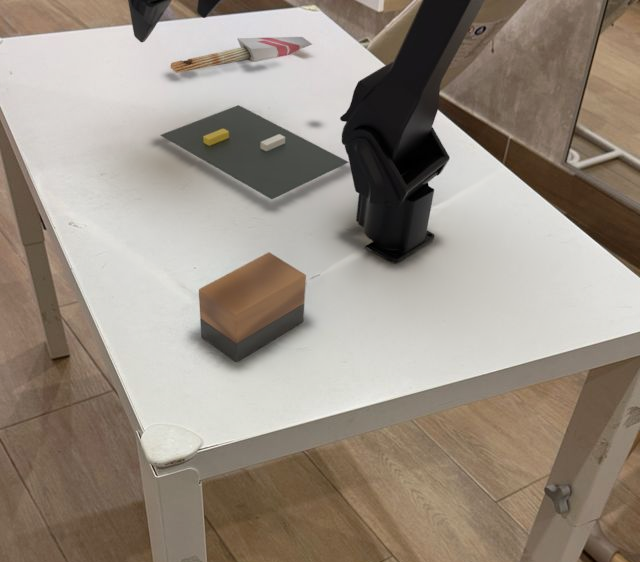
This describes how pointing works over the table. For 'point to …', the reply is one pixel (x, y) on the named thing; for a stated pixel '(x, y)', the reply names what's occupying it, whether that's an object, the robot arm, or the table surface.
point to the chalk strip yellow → (216, 137)
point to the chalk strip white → (272, 142)
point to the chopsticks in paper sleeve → (246, 52)
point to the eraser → (252, 305)
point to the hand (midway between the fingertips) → (171, 26)
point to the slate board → (255, 151)
